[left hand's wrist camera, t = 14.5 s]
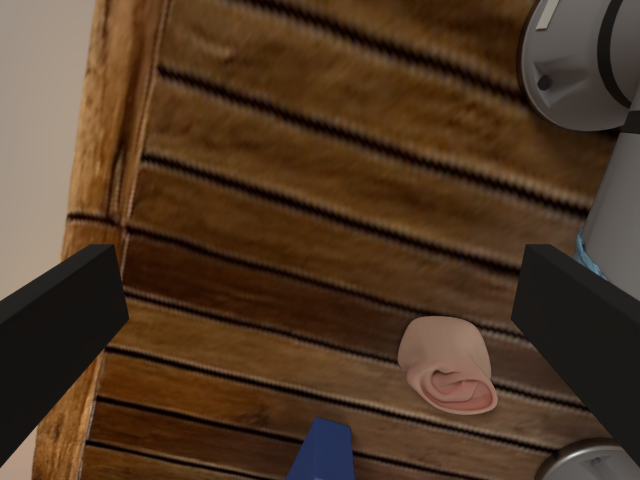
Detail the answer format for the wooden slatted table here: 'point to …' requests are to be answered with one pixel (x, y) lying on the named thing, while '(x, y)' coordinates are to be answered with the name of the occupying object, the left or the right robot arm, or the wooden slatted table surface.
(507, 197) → the wooden slatted table surface
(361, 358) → the wooden slatted table surface
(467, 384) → the anatomical model
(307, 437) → the bar
